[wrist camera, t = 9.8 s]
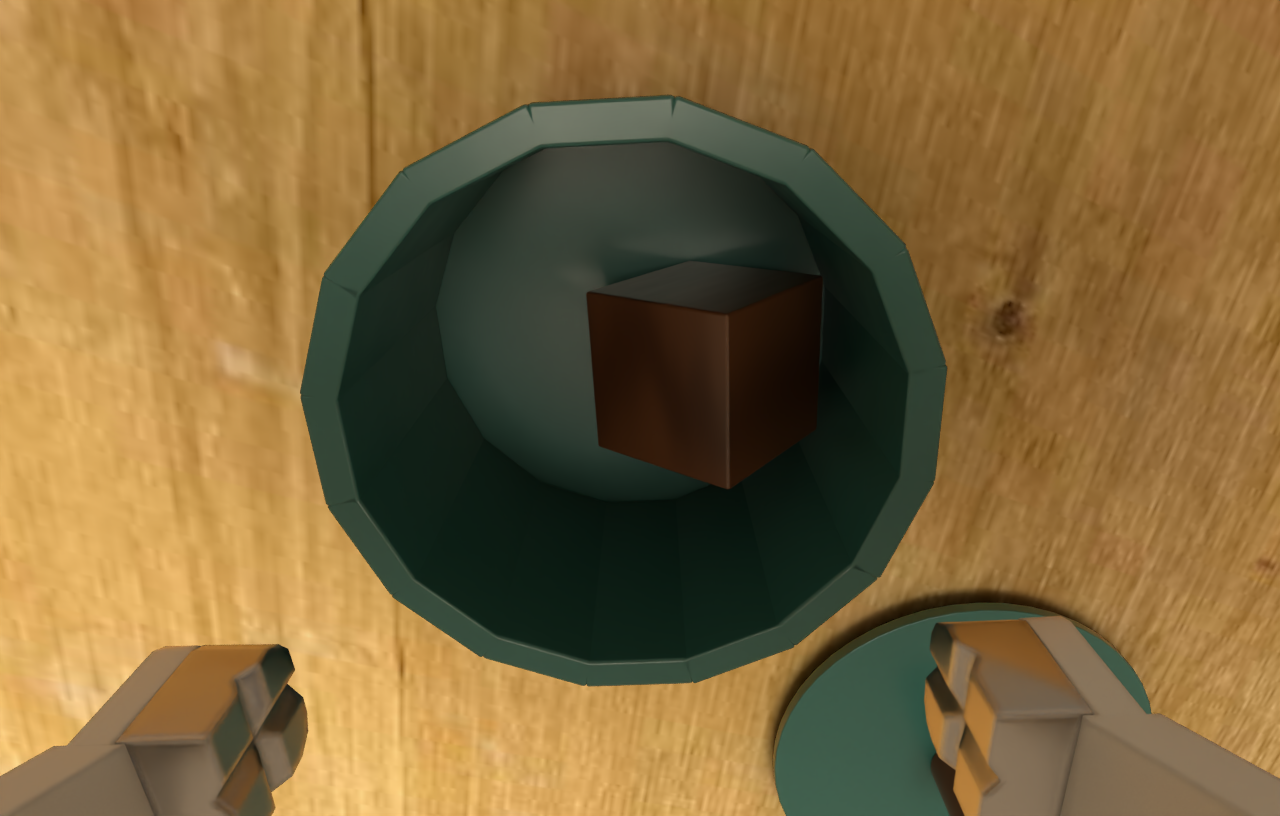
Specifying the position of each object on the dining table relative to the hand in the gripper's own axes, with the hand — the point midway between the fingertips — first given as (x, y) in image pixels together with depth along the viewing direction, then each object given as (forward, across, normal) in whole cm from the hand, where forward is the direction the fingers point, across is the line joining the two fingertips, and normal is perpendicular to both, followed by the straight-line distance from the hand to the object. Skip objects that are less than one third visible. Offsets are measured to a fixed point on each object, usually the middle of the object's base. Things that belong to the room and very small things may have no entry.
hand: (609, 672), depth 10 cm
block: (+13, 0, 0) cm, 13 cm away
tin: (+16, 0, 0) cm, 16 cm away
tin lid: (+15, -12, +18) cm, 26 cm away
